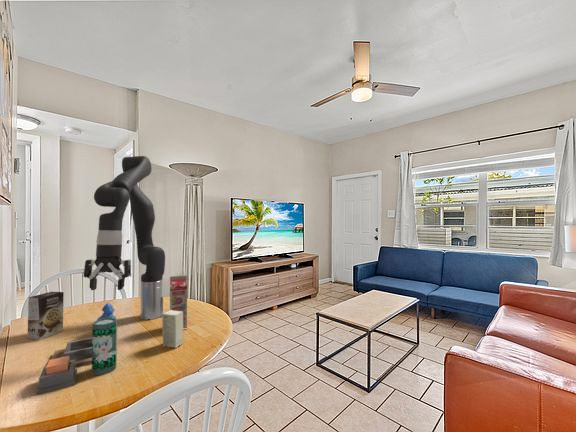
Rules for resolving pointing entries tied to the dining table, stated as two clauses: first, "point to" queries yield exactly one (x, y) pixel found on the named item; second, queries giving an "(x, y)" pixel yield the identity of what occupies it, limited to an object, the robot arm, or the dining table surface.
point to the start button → (58, 365)
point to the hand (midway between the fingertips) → (106, 289)
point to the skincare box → (172, 328)
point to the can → (104, 346)
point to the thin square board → (77, 352)
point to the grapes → (107, 312)
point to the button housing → (57, 379)
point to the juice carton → (179, 296)
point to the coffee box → (45, 315)
